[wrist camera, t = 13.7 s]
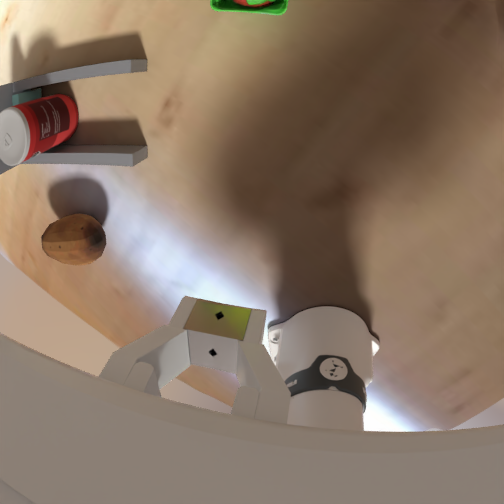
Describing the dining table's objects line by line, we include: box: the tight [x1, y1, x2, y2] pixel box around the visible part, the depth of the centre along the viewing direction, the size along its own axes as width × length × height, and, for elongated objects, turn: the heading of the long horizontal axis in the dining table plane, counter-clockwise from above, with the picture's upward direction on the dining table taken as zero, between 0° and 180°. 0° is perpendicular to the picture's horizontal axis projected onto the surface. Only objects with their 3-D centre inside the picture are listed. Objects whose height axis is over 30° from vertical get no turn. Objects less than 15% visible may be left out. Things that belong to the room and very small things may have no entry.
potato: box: [41, 214, 106, 265], centre depth 44 cm, size 8×13×8 cm, turn 97°
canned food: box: [0, 94, 78, 166], centre depth 34 cm, size 8×8×11 cm
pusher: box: [12, 88, 42, 106], centre depth 36 cm, size 9×2×5 cm, turn 176°
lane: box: [0, 59, 148, 174], centre depth 34 cm, size 13×24×9 cm, turn 86°
